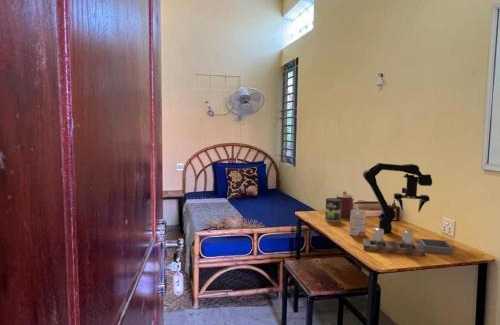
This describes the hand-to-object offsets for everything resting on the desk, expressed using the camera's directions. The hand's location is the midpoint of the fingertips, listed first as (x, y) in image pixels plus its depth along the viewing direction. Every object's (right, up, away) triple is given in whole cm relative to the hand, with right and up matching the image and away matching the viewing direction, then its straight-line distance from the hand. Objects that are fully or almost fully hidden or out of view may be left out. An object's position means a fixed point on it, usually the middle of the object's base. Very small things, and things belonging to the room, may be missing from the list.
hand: (410, 211), depth 209 cm
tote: (0, -16, -27) cm, 31 cm away
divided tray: (-23, -15, -29) cm, 40 cm away
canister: (-28, -9, +43) cm, 52 cm away
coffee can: (-39, -10, +29) cm, 50 cm away
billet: (-29, -15, -28) cm, 43 cm away
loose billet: (-16, -16, -31) cm, 38 cm away
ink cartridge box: (-33, -13, -4) cm, 36 cm away
